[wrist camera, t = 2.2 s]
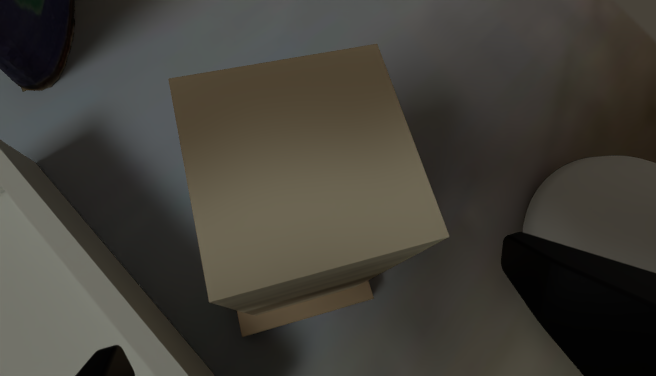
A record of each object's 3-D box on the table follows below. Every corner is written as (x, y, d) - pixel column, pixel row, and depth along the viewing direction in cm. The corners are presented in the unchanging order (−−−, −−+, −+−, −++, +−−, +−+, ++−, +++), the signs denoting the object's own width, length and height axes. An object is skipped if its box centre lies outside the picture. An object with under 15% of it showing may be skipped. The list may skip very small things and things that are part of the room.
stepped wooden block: (369, 299, 19) (495, 262, 8) (244, 336, 18) (173, 357, 6) (334, 184, 21) (395, 15, 9) (219, 211, 19) (128, 56, 8)
